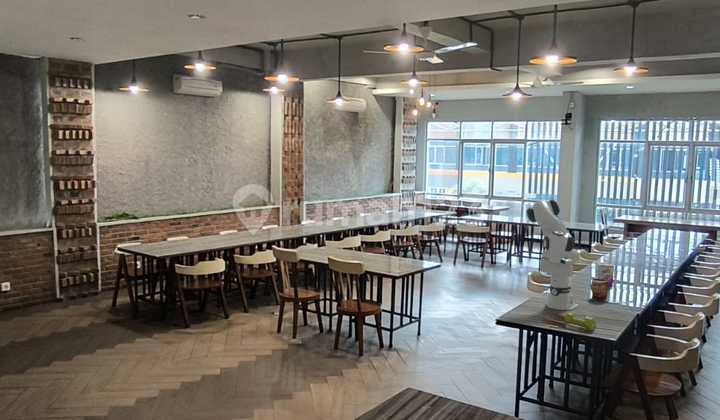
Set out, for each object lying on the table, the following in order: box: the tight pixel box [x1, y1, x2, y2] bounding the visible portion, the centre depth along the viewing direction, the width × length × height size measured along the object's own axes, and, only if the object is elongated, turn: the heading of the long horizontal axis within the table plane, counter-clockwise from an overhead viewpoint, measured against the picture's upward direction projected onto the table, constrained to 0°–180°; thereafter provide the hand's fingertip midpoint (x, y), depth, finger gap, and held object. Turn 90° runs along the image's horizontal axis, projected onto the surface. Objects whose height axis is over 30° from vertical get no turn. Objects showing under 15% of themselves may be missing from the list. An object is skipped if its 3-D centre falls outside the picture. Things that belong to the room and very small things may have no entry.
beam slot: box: [542, 313, 597, 333], centre depth 342 cm, size 14×26×2 cm, turn 41°
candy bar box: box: [596, 263, 615, 287], centre depth 446 cm, size 11×5×16 cm, turn 72°
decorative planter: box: [590, 278, 610, 302], centre depth 404 cm, size 20×12×14 cm, turn 150°
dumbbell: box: [564, 312, 596, 332], centre depth 336 cm, size 16×8×7 cm, turn 43°
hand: (555, 281), depth 347 cm, fingers closed
